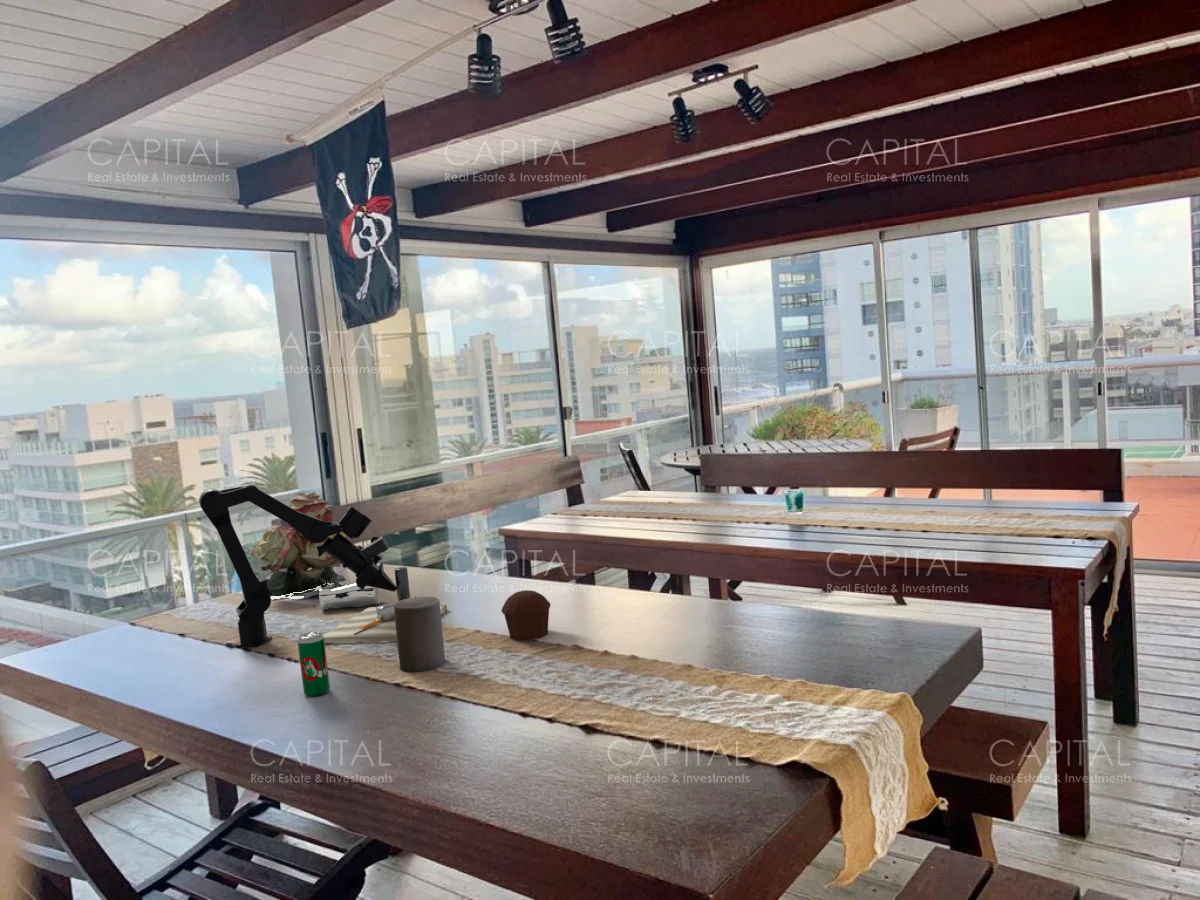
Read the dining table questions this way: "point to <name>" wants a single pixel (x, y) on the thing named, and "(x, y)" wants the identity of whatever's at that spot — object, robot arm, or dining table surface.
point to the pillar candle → (419, 634)
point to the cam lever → (403, 593)
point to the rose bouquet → (298, 553)
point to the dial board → (374, 633)
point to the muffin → (526, 615)
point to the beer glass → (348, 596)
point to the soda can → (313, 664)
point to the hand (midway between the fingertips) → (395, 589)
